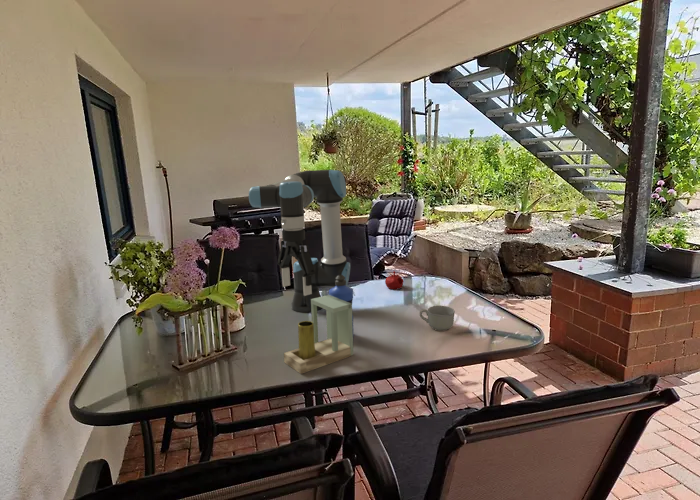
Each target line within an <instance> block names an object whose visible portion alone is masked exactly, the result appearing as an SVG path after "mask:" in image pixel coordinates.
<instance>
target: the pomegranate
mask: <svg viewBox="0 0 700 500" xmlns="http://www.w3.org/2000/svg"><path fill="white" fill-rule="evenodd" d="M387 275H388V276H387V277H386V278H385V279H384V280H385V281H384V283H385V286H386V287H387V288H388V289H389V290H400V289H402V288H403V286H404V279H403V278H402V276H401V274H400V273H398V274H396V271H395V270H393V274H391V273H388V274H387Z"/></svg>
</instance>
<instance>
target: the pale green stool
mask: <svg viewBox="0 0 700 500" xmlns="http://www.w3.org/2000/svg"><path fill="white" fill-rule="evenodd" d="M317 306H319V307H321V309H324V310H325V311H326V312H325V313H326V340H327V339H330V338H332V350H333V351H334V352H335V351H338V341H340V342H342V343H344V344H346V345H348V346H350V348H351V356H353V355H354V337H353V332H354V326H353V327H352V312H353V303H352V304H351V303H349V302H346V301H344V300H341V299H338V298H336V297H333V296H331V295H329V294H327V295H323V296H321V297H318V298H314V299H311V312H310V314H311V322H313V324H314V343H317V342H319V329H318V328H319V327H318V325H319V324H318V323H319V322H318V310H317Z"/></svg>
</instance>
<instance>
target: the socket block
mask: <svg viewBox="0 0 700 500" xmlns="http://www.w3.org/2000/svg"><path fill="white" fill-rule="evenodd" d="M315 354H316V356H315V357H312V358H309V359H306V360H302V359H301V358H299V347H297V348H295V349H292V350H289V351H285V352H283V359H284V360H283V362H284V364H286V365H287V366H289V367H290V368H291V369H292V370H294V371H296V372H297V373H299V374H300V375H301V374H304V373H307V372H311V371H314V370H316V369H319V368H321V367H325V366H327V365H329V364H333V363H336V362H338V361H341V360H344V359H347V358H349V357H351V356H352V355H351V348H350V346H348V345H346V344H344V343H342V342H340V341H338V351H335V352H334V351H333V350H332V338H330V339H327V338H326V339H325V340H321V341H318V342H317V343H315Z"/></svg>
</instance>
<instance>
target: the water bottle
mask: <svg viewBox="0 0 700 500" xmlns="http://www.w3.org/2000/svg"><path fill="white" fill-rule="evenodd" d="M336 279H337V280H335V285H336V286H335V287H330V289H329V290H328V295H331V296H333V297H336V298H338V299H341V300H344V301H346V302H349V303H351V304H352V305H353V299H354V289H353V288H351V287H350V286H348V285H346V280H344V279H345V277H344V276H343V275H338V276H337V277H336ZM352 327H353V328H354V314H353V311H352ZM354 333H355V332H354V331H353V338H354Z"/></svg>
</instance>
